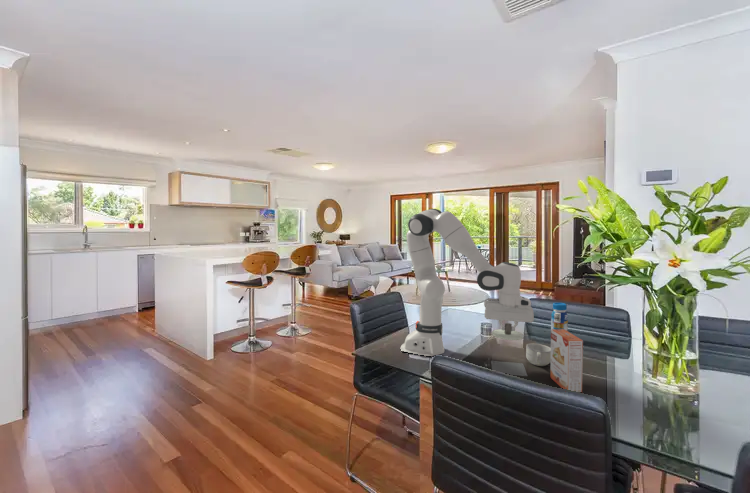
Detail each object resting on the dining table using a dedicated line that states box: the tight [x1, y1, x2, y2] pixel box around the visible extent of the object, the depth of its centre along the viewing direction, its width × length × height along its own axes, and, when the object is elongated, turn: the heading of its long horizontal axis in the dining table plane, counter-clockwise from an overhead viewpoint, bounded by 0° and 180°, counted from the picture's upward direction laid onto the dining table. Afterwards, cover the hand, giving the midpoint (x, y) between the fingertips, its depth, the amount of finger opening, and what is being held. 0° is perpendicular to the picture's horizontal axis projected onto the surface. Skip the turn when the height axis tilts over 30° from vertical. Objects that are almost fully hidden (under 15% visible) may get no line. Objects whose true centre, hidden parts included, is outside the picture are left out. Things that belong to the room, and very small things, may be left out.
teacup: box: [525, 342, 551, 367], centre depth 160 cm, size 14×11×8 cm
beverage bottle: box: [550, 302, 569, 332], centre depth 194 cm, size 8×8×20 cm
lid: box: [491, 322, 525, 341], centre depth 155 cm, size 13×13×5 cm
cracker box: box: [549, 329, 584, 393], centre depth 138 cm, size 14×6×21 cm, turn 178°
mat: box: [490, 360, 528, 377], centre depth 156 cm, size 14×14×1 cm
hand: (507, 330), depth 155 cm, fingers closed on lid, 3 cm apart
